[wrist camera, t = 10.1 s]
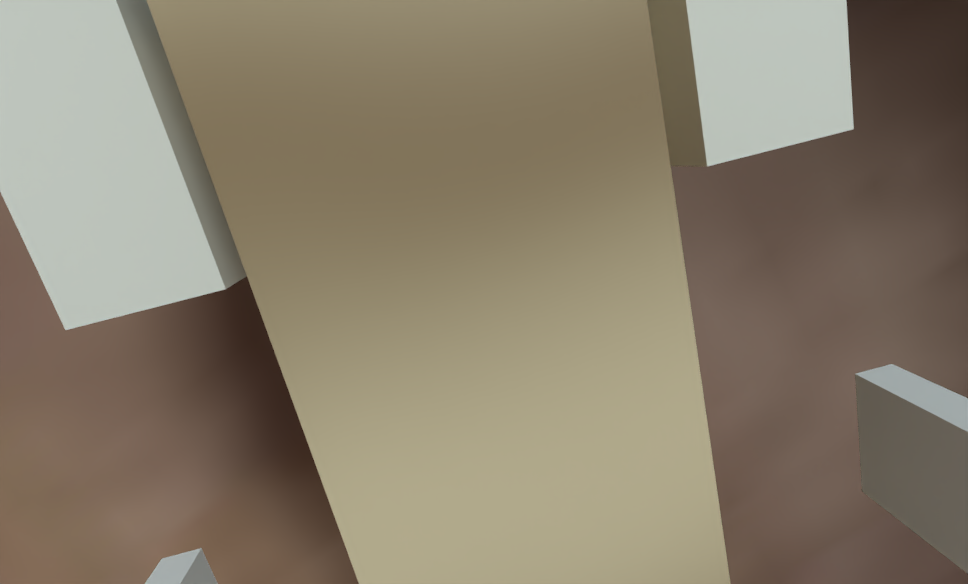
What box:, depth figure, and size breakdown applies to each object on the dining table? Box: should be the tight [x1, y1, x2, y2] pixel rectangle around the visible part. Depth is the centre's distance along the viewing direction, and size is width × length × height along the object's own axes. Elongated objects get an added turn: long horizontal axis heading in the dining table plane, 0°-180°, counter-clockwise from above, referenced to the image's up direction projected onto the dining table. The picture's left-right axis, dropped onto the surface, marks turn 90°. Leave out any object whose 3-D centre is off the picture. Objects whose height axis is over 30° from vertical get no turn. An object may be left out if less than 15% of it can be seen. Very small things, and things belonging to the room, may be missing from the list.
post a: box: [0, 0, 854, 330], centre depth 10 cm, size 7×9×10 cm
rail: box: [147, 0, 730, 584], centre depth 9 cm, size 22×4×6 cm, turn 13°
